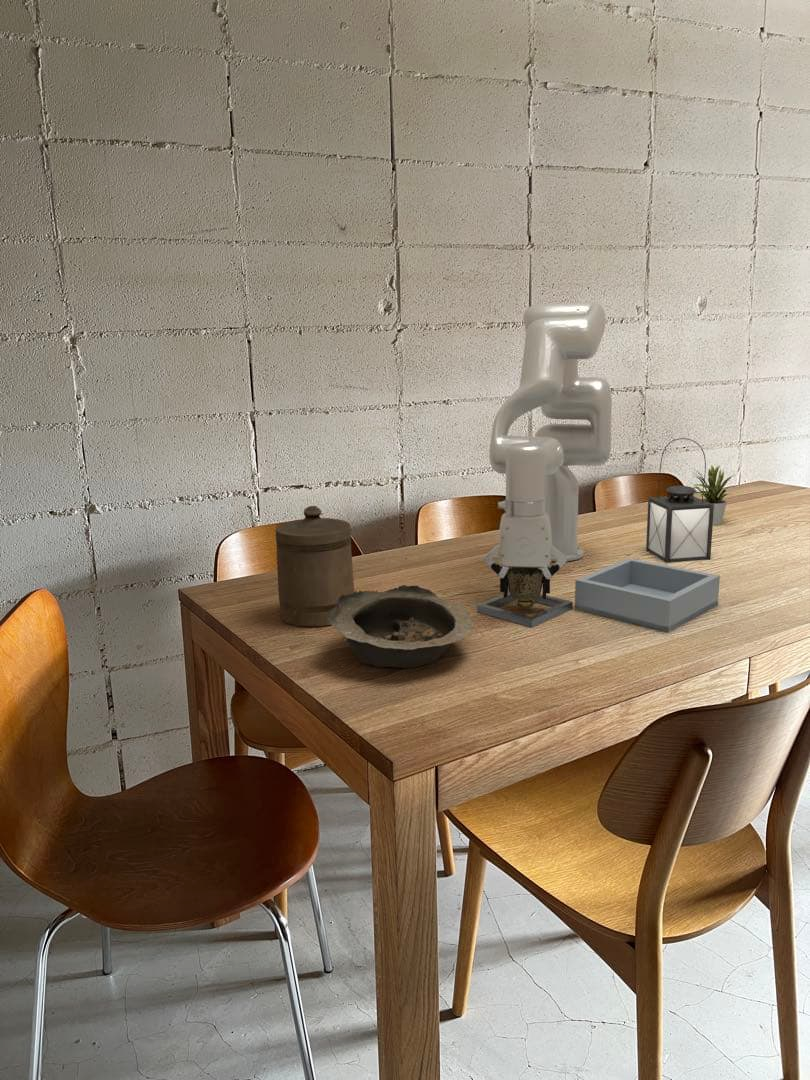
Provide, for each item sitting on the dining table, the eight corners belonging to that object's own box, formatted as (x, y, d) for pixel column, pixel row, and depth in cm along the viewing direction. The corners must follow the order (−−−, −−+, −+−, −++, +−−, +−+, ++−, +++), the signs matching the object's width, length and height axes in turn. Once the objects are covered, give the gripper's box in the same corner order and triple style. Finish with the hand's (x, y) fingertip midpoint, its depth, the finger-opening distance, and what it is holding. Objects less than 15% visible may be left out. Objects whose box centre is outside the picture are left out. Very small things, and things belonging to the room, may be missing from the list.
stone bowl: (342, 626, 161) (343, 579, 158) (473, 637, 158) (476, 589, 156) (315, 677, 137) (316, 623, 134) (469, 691, 135) (473, 636, 132)
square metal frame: (476, 611, 167) (476, 604, 166) (518, 595, 176) (518, 588, 175) (532, 627, 157) (532, 619, 157) (572, 609, 167) (572, 601, 166)
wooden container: (349, 599, 177) (344, 496, 171) (360, 623, 163) (355, 511, 157) (277, 606, 174) (270, 502, 168) (283, 631, 160) (275, 518, 154)
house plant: (677, 516, 239) (680, 459, 235) (728, 516, 237) (732, 458, 233) (686, 528, 226) (690, 468, 222) (740, 528, 224) (745, 467, 220)
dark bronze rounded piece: (551, 609, 165) (551, 569, 163) (518, 615, 162) (518, 575, 160) (530, 598, 171) (531, 560, 169) (499, 603, 169) (499, 565, 167)
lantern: (711, 560, 197) (719, 440, 190) (665, 563, 195) (672, 442, 188) (688, 548, 208) (695, 434, 201) (645, 550, 206) (650, 436, 199)
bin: (574, 608, 167) (575, 579, 165) (627, 585, 180) (628, 558, 179) (668, 632, 153) (670, 601, 151) (717, 604, 167) (719, 575, 165)
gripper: (478, 512, 159) (479, 601, 164) (572, 512, 156) (570, 603, 161) (481, 503, 167) (482, 589, 171) (571, 503, 164) (569, 591, 168)
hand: (524, 595), depth 166 cm, fingers closed on dark bronze rounded piece, 7 cm apart
